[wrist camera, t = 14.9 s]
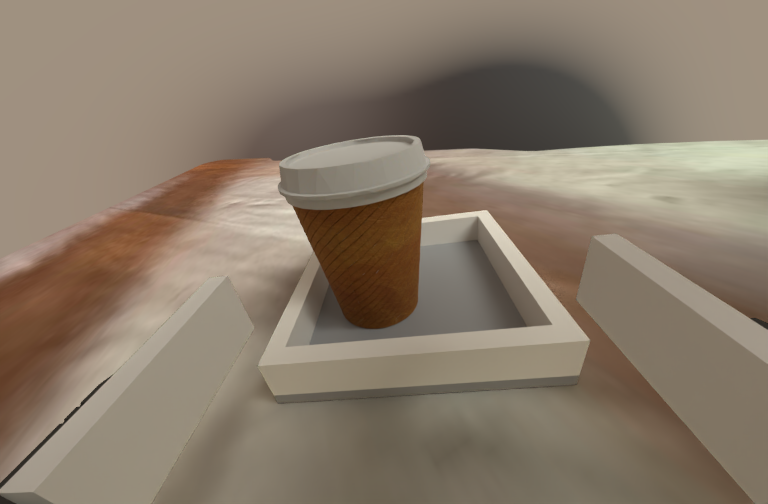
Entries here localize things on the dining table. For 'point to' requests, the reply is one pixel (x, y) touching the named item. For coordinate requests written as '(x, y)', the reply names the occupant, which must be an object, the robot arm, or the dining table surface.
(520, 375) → the square well
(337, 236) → the disposable coffee cup
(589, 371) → the dining table surface
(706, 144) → the dining table surface
